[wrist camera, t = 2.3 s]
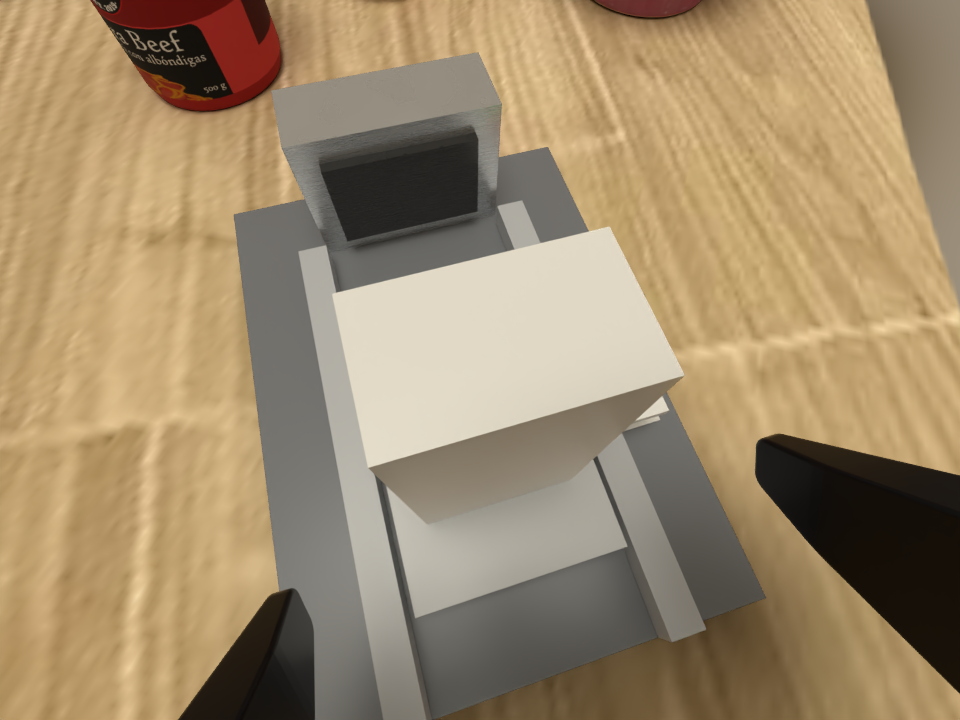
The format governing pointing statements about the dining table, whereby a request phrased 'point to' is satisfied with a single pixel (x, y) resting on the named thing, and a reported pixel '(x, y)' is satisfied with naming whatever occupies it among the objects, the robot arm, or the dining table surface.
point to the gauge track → (367, 511)
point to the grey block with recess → (394, 149)
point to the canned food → (197, 48)
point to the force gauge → (502, 407)
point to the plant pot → (649, 7)
